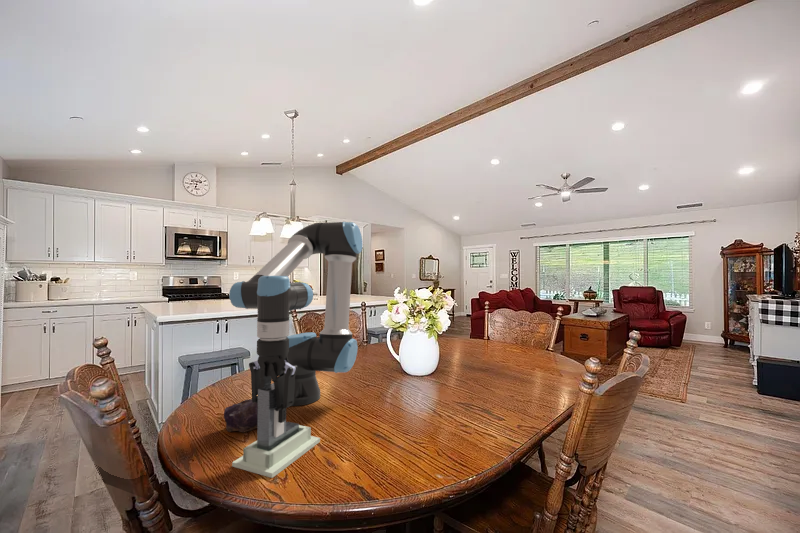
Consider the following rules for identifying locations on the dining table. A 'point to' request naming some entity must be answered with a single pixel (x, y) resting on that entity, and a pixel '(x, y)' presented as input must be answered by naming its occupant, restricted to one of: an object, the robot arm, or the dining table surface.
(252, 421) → the rock
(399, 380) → the dining table surface
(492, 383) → the dining table surface
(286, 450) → the rectangular frame
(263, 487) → the dining table surface
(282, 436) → the grey l-shaped block
